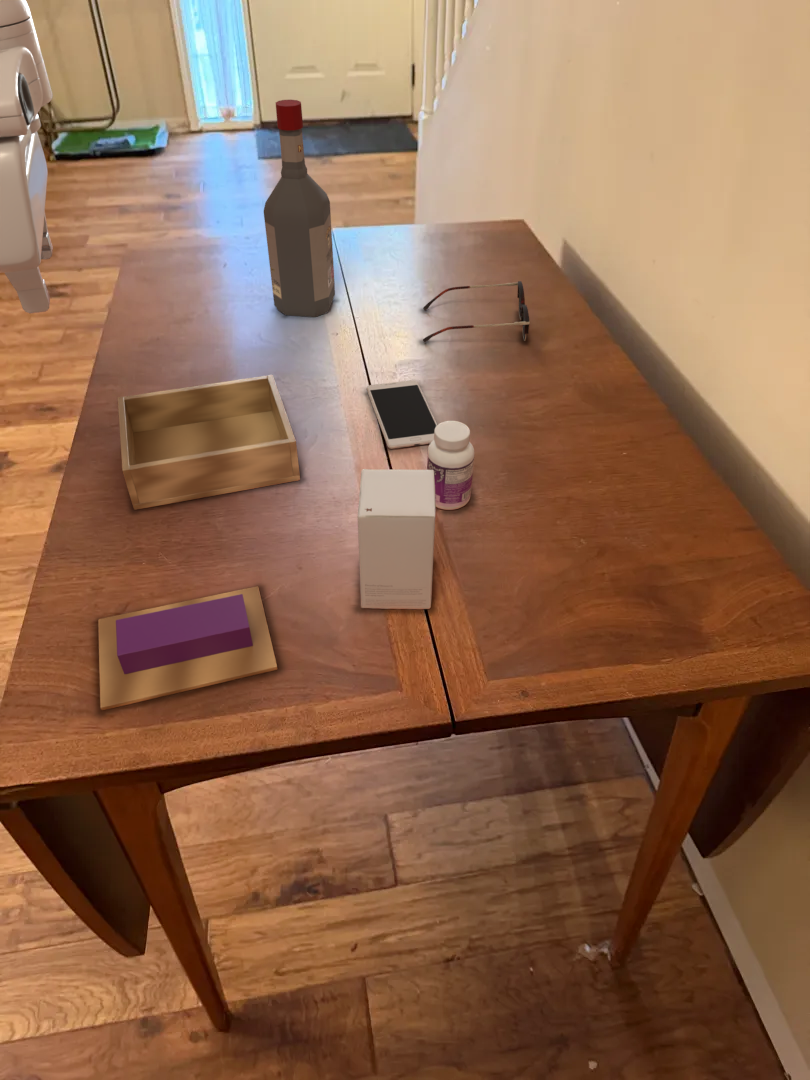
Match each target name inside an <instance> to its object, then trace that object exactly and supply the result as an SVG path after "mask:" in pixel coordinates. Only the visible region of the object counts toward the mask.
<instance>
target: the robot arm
mask: <svg viewBox="0 0 810 1080" xmlns="http://www.w3.org/2000/svg"><path fill="white" fill-rule="evenodd" d="M52 90H53V89H52V86H51V83H50V79H49V74H48V72H47V68H46V65H45V61H44V57H43V54H42V49H41V46H40V42H39V39H38V34H37V31H36V27H35V23H34V20H33V16H32V12H31V9H30V6H29V4H28V2H27V0H0V274H3V273H4V275H5V276H6V278H7V279H8V281H9V283H10V284H11V286H12V287H13V289H14V290H15V292H16V295H17V297H18V299H19V302H20V305H21V307H22V310H23V311H24V312H25V313H27V314H38V313H45V312H48V311H49V310H50V305H51V296H50V293H49V291H48V288H47V287H48V286H47V283H46V280H45V278H43V277H42V273H41V270H40V267H39V266H40V265H41V262H42V260H50V259H51V258H52V257H53V250H54V246H53V243H52V239H51V237H50V232H49V229H48V223H47V217H46V216H47V215H46V200H47V199H46V198H47V187H48V177H49V172H48V171H49V170H48V164H47V160H46V157H45V153H44V150H43V149H44V148H43V146H42V143H41V139H40V136H39V132H38V131H39V130H40V129H41V127H42V123H41V119H40V117H39V114H38V113H39V112H40V110H41V108H42V107H44V106H46V105H47V104H49V103H50V102H51V101H52V99H53V97H54V96H53V91H52Z"/></svg>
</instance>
